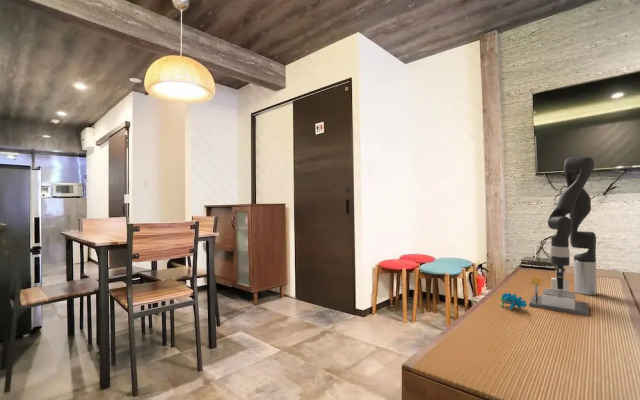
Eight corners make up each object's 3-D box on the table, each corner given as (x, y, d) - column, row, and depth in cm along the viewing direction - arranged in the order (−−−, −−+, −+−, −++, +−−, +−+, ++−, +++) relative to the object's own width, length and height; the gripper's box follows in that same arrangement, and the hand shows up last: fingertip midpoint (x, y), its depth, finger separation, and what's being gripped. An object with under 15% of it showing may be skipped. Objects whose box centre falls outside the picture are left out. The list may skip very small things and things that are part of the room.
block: (551, 297, 163) (551, 277, 163) (569, 299, 158) (568, 279, 158) (551, 298, 161) (551, 278, 161) (569, 300, 156) (568, 280, 156)
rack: (533, 298, 161) (533, 273, 161) (588, 306, 147) (587, 279, 148) (529, 306, 148) (529, 279, 148) (588, 316, 134) (588, 286, 134)
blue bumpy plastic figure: (531, 306, 142) (520, 292, 140) (527, 317, 139) (515, 303, 137) (507, 303, 151) (496, 290, 149) (503, 313, 149) (492, 300, 147)
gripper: (551, 253, 168) (552, 283, 167) (550, 256, 157) (550, 289, 156) (569, 254, 163) (570, 286, 162) (569, 257, 152) (569, 291, 151)
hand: (560, 287), depth 159 cm, fingers open, 8 cm apart
